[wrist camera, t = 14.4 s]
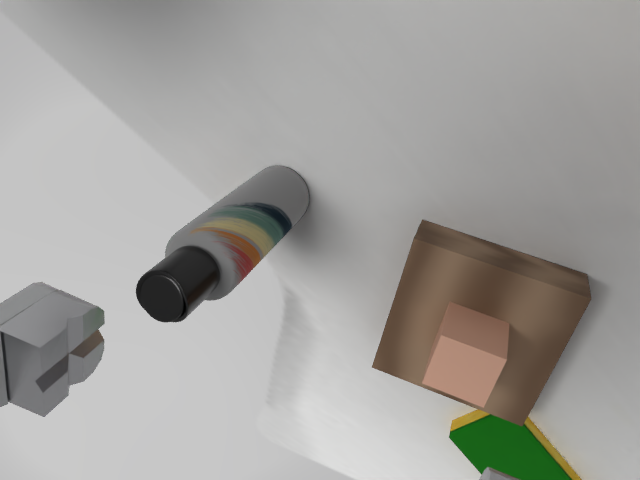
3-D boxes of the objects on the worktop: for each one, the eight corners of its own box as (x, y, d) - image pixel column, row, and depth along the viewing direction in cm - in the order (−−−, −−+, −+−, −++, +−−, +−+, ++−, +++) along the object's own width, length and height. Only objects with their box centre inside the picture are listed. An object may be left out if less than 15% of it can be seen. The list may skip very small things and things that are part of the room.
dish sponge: (532, 513, 58) (532, 533, 56) (449, 418, 57) (446, 435, 55) (596, 493, 55) (599, 514, 53) (509, 392, 53) (509, 409, 51)
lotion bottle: (257, 219, 54) (129, 333, 37) (251, 162, 52) (111, 256, 35) (312, 224, 52) (204, 346, 35) (308, 165, 50) (191, 266, 33)
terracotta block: (431, 347, 49) (422, 383, 44) (449, 301, 46) (441, 335, 42) (488, 368, 48) (483, 407, 43) (509, 323, 45) (506, 359, 41)
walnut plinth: (381, 342, 55) (371, 367, 52) (422, 219, 48) (413, 238, 45) (523, 397, 52) (522, 426, 49) (587, 274, 45) (591, 298, 42)
